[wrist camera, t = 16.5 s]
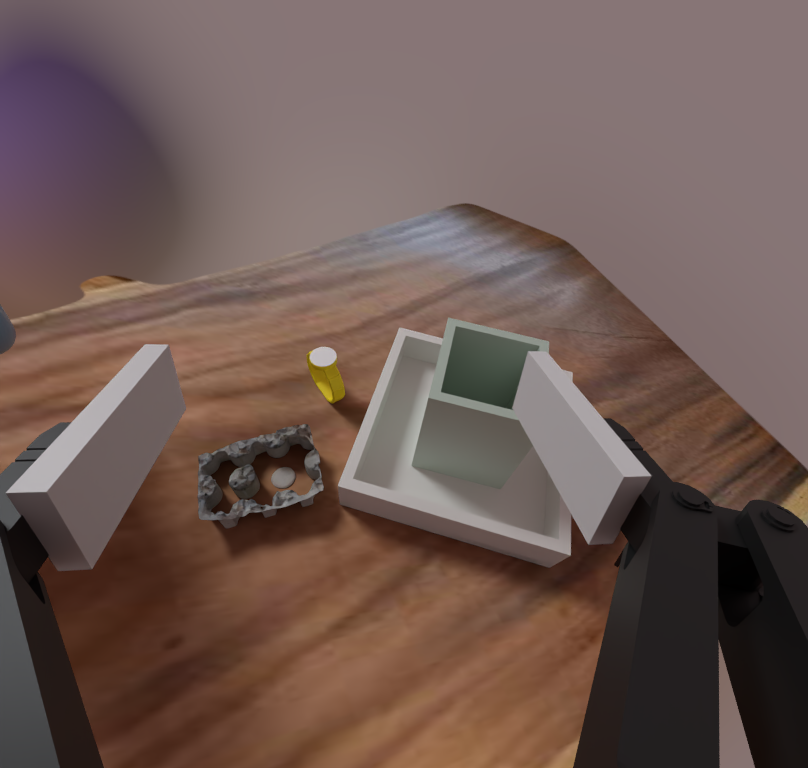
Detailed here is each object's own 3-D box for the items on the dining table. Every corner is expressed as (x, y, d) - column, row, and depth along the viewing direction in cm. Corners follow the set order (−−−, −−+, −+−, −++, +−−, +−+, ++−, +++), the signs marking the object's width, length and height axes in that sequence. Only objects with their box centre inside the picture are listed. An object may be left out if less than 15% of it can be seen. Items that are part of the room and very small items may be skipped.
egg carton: (316, 440, 42) (313, 419, 39) (327, 509, 38) (325, 492, 34) (207, 460, 39) (193, 440, 36) (206, 536, 35) (190, 521, 32)
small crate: (411, 465, 40) (428, 397, 30) (428, 394, 45) (448, 317, 35) (500, 489, 39) (546, 427, 29) (507, 414, 44) (548, 341, 35)
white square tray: (339, 504, 38) (337, 486, 34) (396, 352, 50) (399, 327, 46) (549, 567, 36) (570, 555, 32) (556, 395, 48) (572, 372, 44)
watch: (304, 380, 46) (296, 343, 42) (325, 370, 47) (320, 333, 43) (330, 415, 43) (324, 379, 39) (352, 403, 44) (349, 367, 40)
